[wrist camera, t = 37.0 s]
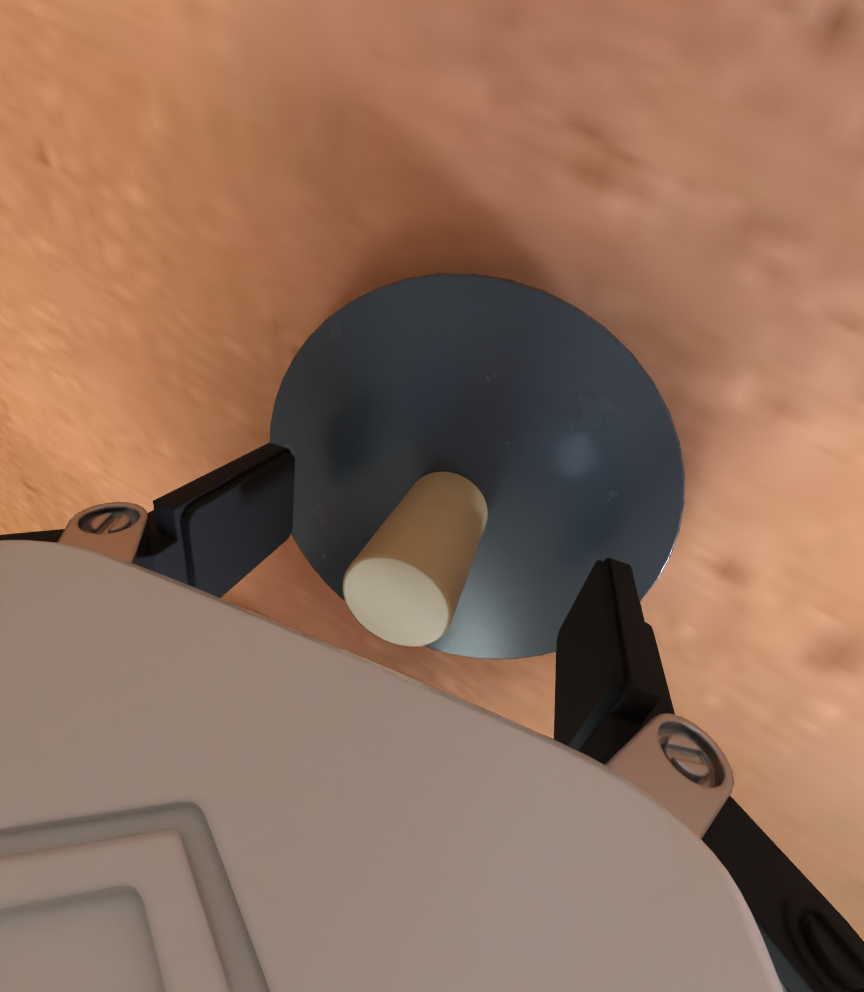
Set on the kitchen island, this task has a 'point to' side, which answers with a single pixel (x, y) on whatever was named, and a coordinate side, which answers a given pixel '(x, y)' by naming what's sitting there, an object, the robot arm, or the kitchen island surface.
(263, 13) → the kitchen island surface
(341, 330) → the lid
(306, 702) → the robot arm
